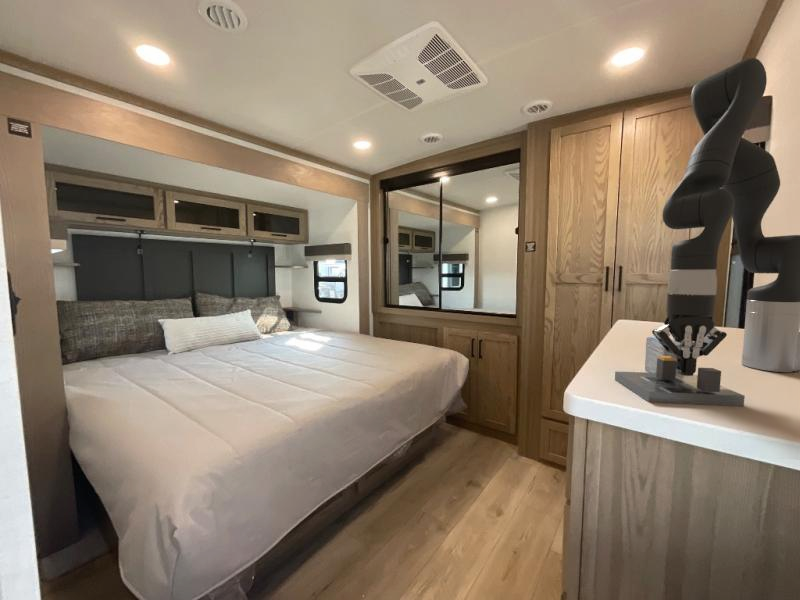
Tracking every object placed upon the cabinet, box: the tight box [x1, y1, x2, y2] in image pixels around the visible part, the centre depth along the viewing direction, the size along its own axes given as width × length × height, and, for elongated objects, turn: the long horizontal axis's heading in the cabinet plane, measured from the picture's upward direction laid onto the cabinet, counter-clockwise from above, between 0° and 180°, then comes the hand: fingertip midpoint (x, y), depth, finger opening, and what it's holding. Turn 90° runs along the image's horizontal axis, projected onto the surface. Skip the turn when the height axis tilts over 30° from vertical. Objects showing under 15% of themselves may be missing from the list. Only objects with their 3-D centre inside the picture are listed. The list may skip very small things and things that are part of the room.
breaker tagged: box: [656, 356, 677, 380], centre depth 70 cm, size 2×2×5 cm
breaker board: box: [614, 370, 746, 407], centre depth 68 cm, size 16×13×2 cm
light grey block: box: [644, 336, 679, 373], centre depth 79 cm, size 8×4×9 cm, turn 168°
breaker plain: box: [697, 367, 722, 392], centre depth 63 cm, size 2×2×4 cm
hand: (685, 374), depth 69 cm, fingers closed
